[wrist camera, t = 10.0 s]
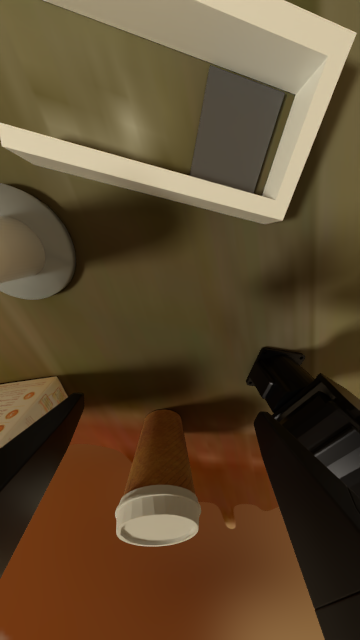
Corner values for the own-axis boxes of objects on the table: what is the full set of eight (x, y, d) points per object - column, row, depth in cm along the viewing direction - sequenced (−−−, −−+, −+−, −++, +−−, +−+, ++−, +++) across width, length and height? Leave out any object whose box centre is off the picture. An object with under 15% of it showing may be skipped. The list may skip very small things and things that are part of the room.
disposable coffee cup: (138, 398, 26) (114, 510, 15) (197, 405, 27) (214, 514, 16) (131, 436, 30) (108, 547, 19) (183, 441, 31) (190, 548, 20)
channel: (317, 77, 13) (356, 33, 10) (264, 224, 17) (282, 220, 14) (10, -44, 10) (-49, -149, 7) (34, 164, 14) (1, 146, 11)
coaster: (73, 201, 15) (67, 199, 14) (77, 303, 19) (73, 306, 18) (-53, 171, 14) (-69, 166, 13) (-21, 287, 18) (-31, 289, 17)
